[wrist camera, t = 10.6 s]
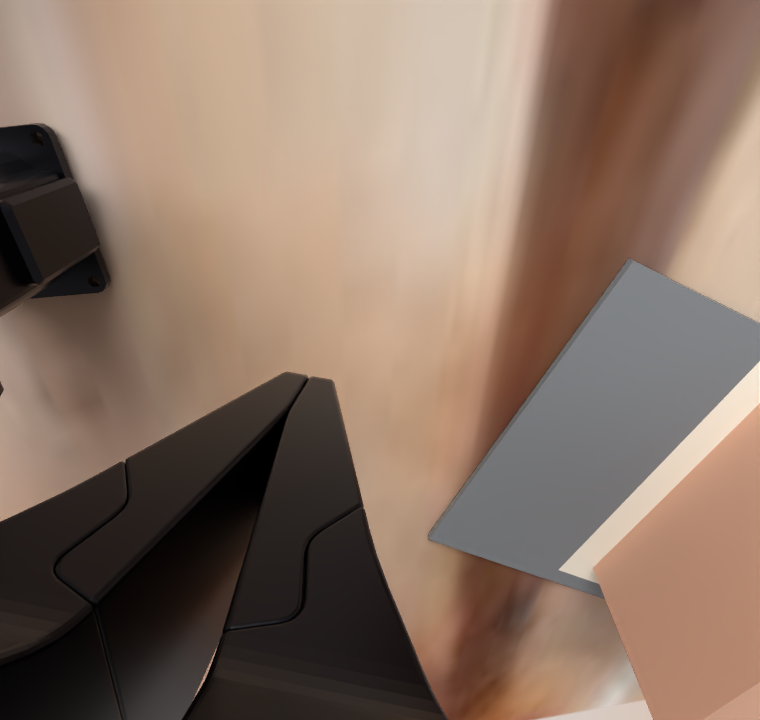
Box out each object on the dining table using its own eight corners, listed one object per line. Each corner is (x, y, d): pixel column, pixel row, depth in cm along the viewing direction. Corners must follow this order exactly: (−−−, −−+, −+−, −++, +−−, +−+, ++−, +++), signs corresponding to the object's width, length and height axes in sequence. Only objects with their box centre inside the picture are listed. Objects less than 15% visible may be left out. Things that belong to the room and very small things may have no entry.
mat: (428, 534, 29) (428, 539, 29) (629, 258, 21) (633, 261, 21) (740, 639, 34) (744, 645, 33) (1008, 446, 25) (1016, 451, 25)
